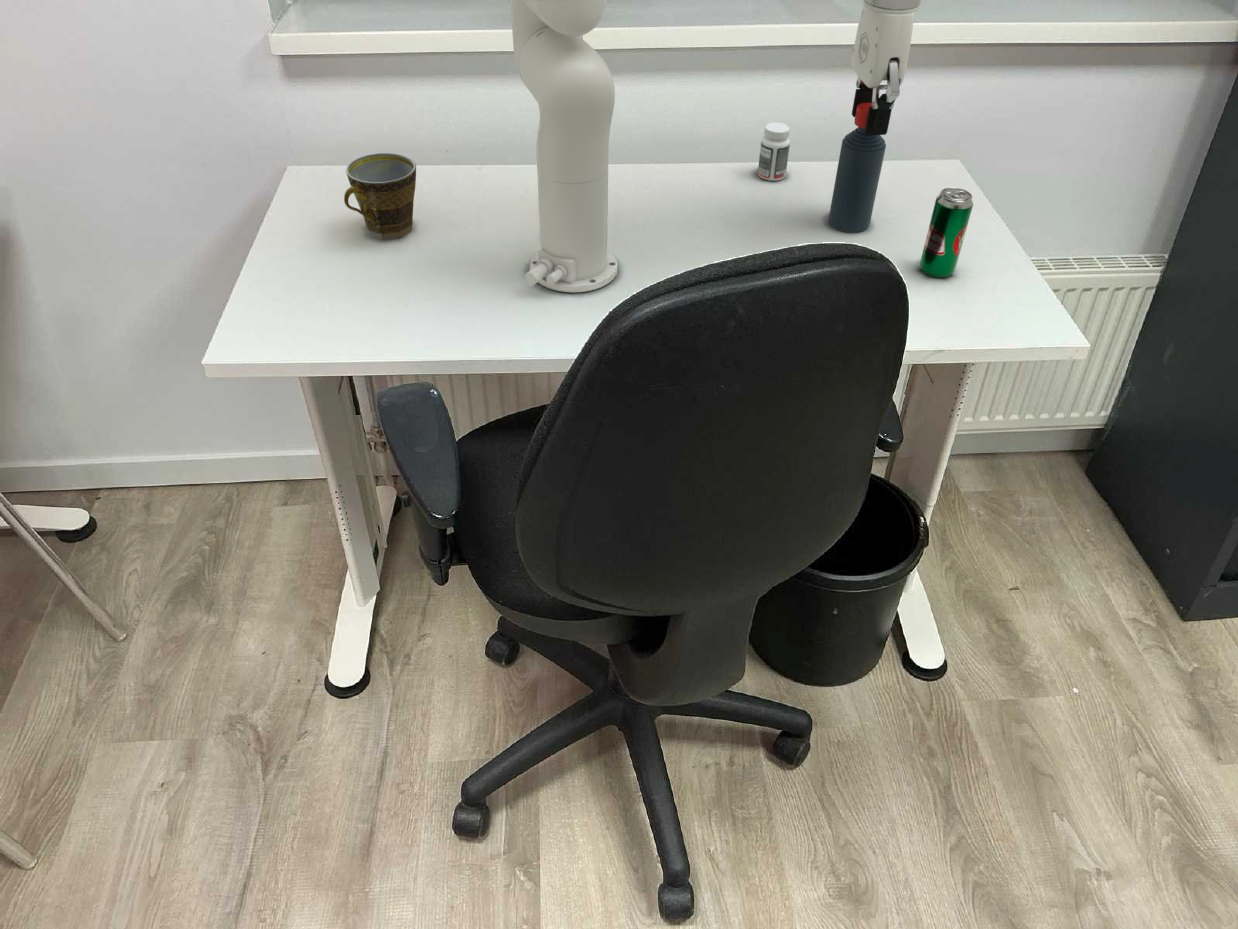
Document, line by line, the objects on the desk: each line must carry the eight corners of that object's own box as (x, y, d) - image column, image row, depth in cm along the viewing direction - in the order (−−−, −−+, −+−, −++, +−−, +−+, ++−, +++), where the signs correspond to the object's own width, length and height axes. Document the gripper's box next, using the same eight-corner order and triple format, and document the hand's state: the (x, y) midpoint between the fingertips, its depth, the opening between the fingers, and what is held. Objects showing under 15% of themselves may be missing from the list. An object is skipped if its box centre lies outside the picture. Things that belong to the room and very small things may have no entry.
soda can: (911, 264, 146) (930, 188, 138) (940, 259, 148) (961, 183, 140) (931, 281, 143) (951, 204, 135) (961, 275, 144) (982, 199, 136)
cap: (881, 130, 143) (885, 114, 142) (854, 128, 144) (857, 111, 142) (881, 119, 146) (884, 103, 145) (854, 117, 147) (857, 101, 145)
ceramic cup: (386, 208, 156) (377, 146, 149) (436, 225, 152) (430, 163, 146) (328, 242, 148) (316, 179, 141) (380, 261, 144) (370, 197, 137)
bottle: (869, 234, 153) (893, 121, 141) (827, 230, 154) (847, 117, 142) (869, 215, 158) (891, 104, 146) (828, 211, 158) (847, 100, 147)
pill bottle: (785, 169, 169) (791, 121, 164) (785, 182, 166) (792, 133, 160) (757, 168, 170) (763, 120, 164) (757, 180, 166) (763, 131, 160)
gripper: (848, -25, 139) (828, 102, 151) (885, 15, 127) (860, 151, 139) (899, -26, 140) (875, 101, 152) (942, 14, 127) (912, 149, 139)
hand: (868, 123), depth 145 cm, fingers open, 5 cm apart
